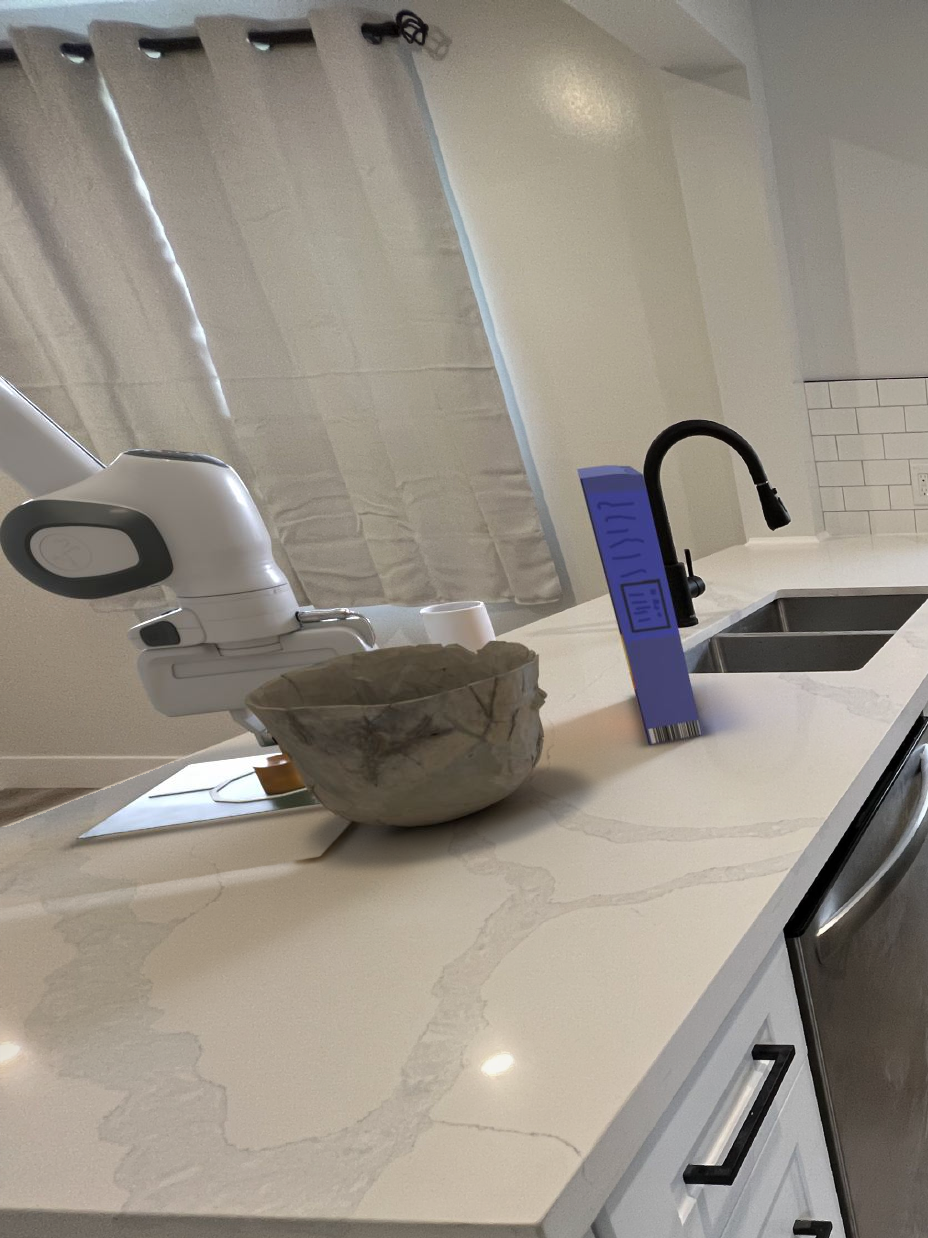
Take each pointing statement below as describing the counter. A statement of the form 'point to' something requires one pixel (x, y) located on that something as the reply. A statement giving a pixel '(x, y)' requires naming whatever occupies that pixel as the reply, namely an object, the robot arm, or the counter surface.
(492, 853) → the counter surface
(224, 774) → the board
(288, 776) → the orange white short cylinder
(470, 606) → the white plastic cylinder
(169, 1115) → the counter surface
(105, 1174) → the counter surface
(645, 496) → the cereal box
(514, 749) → the bowl
